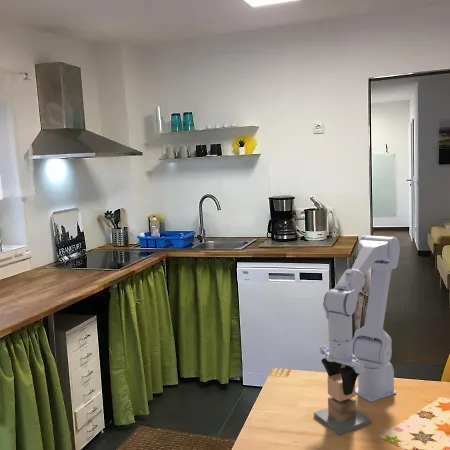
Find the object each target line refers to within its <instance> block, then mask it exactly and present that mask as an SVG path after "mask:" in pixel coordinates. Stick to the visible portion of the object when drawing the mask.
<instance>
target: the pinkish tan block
mask: <svg viewBox="0 0 450 450" xmlns="http://www.w3.org/2000/svg"><path fill="white" fill-rule="evenodd" d="M355 388H356V384H355V385H354V389H353V393H352V394H349V395H345V394H344V391H343V382H342V378H341V375H340V373H339V374H336V375H332V376H329V377H328V376H327V395H329V397H333V398H335V399H336V400H338V401H339V402H340V401H343V400H346V399H349V398H355V397H356V395H357V394H356V393H355Z"/></svg>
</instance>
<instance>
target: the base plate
mask: <svg viewBox="0 0 450 450" xmlns="http://www.w3.org/2000/svg"><path fill="white" fill-rule="evenodd" d="M313 416H314V418H316V419H317V420H318V421H320V422H321V423H323V424H324V425H325V426H327V427H328V428H329V429H330V430H332V431H333V432H334V433H336V434H337V435H339V436H340V435H344V434H345V433H348V432H351V431H354V430H356V429H360V428H362V427H365V426H367V425H371V424H372V419H371V418H370V417H369V416H367V415H365V414H364V413H362V412H360V411H359V410H357V409H356V417H355V418H352V419H349V420H347V421H344V422H341V423H339V422H338V421H337V420H335V419H334V418H332V417H331V416H329V415H328V407H327V408H324V409H321V410H318V411H315V412H313Z"/></svg>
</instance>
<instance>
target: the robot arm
mask: <svg viewBox="0 0 450 450" xmlns="http://www.w3.org/2000/svg"><path fill="white" fill-rule="evenodd" d="M357 248H358V249H357V250H358V255H357V257H356V258H355V261H354V263H353V265H352V267H351V268H348V269H346V270H345V271H344V272H343V274H342V275H341V277H340V278H339V280H338V282H337V283H336V284H335V286H334V288H331V289H329V290H328V291H326V292H325V294H324V296H323V302H322V306H323V310H324V311H325V318H326V320H327V321H328V322H327V323H328V328H327V330H328V344H324V345H320V346H319V354H320V355H325V357H324V358H322V359H321V364H322V365H323V366H324V369H325V371H326V373H327V374H326V375H327V378H328V377H329V376H332V375H336V374H339V373H340V375H341V378H342V382H343V391H344V394H345V395H349V394H352V393H353V389H354V385H355V394H356V395H358V396H359V397H361V398H362V399H364V400H366V401H368V402H370V403H372V402H374V401H378V400H380V399H381V400H382V399H383V398H387V397H389V396H393V395H396V394H397V391H396V390H395V371H394V367H393V364H392V362H391V358H392V353H393V350H392V337H391V336H390V335H389V334H388V332H386V331H385V330H384V322H385V315H386V309H387V303H388V302H387V301H388V294H389V289H390V283H391V282H390V281H391V275H392V270H395V269H396V268H398V264H399V259H400V253H401V245H400V241H399V239H398V238H397V236H382V235H380V236H379V235H368V234H362V236H361V237H360V238H359V240H358V245H357ZM370 269H372V275H371V281H370V287H369V295H368V300H367V306H366V314H365V319H364V324H363V326H362V327H361V328H358V329H357V330H355V332H354V333H353V314H354V313H355V311H356V309H357V303H358V300H359V297H358V296H359V294H360V292H361V291H362V289H363V287H364V285H365V284H366V278H365V276H366V274H367V273H368V271H369V270H370ZM353 334H354V336H353ZM367 337H368V338H367ZM373 338H375V339H373ZM342 365H345V366H343V367H342ZM356 382H357V387H356Z"/></svg>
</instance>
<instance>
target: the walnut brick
mask: <svg viewBox="0 0 450 450" xmlns="http://www.w3.org/2000/svg"><path fill="white" fill-rule="evenodd" d="M356 403H357V402H356V399H355V398H354V397H352V398H349V399H346V400H343V401H340V402H339V401H338V400H336V399H335V398H333V397H332V396H329V397H327V408H328V415H329V416H331V417H332V418H334V419H335V420H337V421H338V422H339V423H341V422H344V421H347V420H349V419H352V418H355V417H356V410H357V409H356V407H357V406H356Z"/></svg>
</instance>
